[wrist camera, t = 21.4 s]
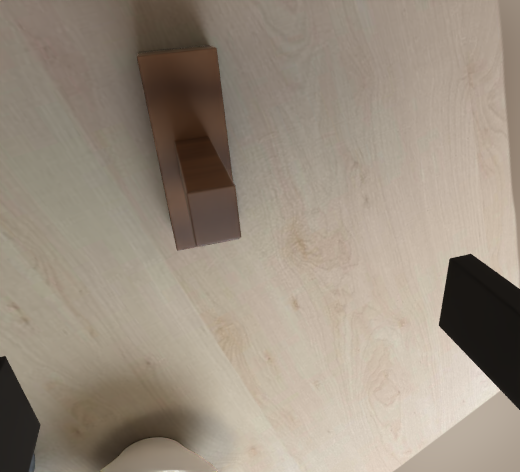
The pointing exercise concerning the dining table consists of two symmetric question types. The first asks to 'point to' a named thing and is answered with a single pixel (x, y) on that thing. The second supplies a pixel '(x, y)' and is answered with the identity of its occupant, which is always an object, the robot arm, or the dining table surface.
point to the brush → (191, 143)
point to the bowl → (158, 458)
